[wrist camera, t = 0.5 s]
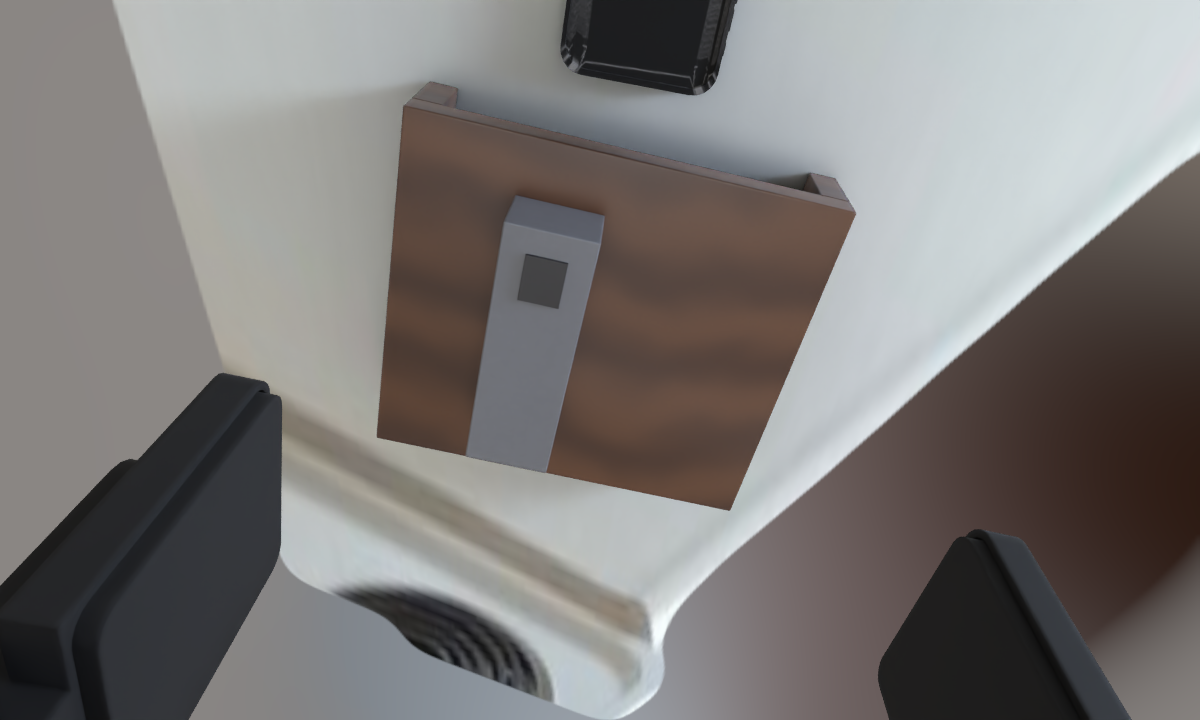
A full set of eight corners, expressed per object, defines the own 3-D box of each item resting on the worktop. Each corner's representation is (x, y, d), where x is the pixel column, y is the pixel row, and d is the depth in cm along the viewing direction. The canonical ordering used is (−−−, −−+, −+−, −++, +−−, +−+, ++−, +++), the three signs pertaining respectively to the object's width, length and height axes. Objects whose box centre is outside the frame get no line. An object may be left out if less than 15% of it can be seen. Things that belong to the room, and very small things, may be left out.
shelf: (429, 80, 40) (403, 105, 36) (836, 178, 41) (857, 213, 37) (399, 391, 50) (376, 438, 46) (724, 459, 52) (730, 511, 48)
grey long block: (515, 194, 37) (502, 222, 34) (605, 215, 38) (601, 245, 35) (477, 418, 45) (464, 458, 42) (552, 434, 45) (545, 475, 42)
